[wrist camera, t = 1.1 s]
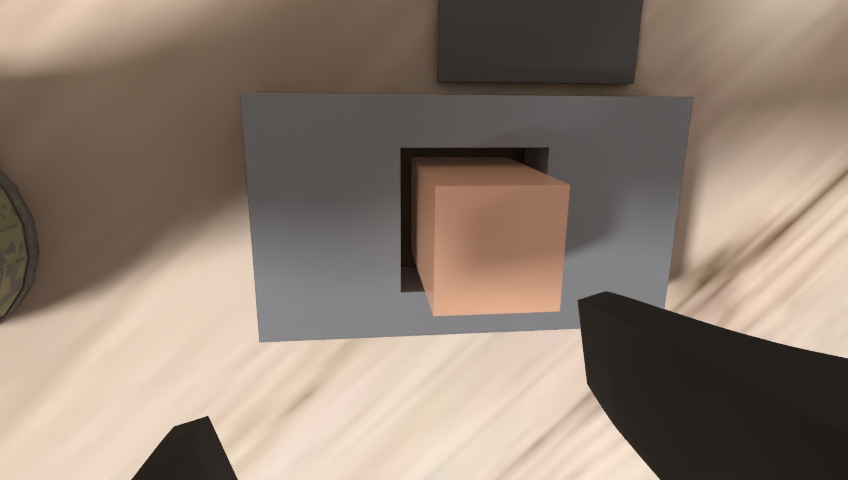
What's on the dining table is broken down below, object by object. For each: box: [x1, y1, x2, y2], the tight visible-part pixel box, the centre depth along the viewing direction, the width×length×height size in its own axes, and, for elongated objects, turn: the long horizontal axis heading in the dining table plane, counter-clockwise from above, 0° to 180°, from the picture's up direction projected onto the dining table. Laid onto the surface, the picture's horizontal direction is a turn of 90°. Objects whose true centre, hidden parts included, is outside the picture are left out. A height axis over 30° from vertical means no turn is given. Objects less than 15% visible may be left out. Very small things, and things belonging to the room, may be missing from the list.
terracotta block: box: [411, 157, 570, 316], centre depth 20 cm, size 4×4×7 cm
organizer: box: [240, 93, 693, 342], centre depth 21 cm, size 16×9×3 cm, turn 90°
